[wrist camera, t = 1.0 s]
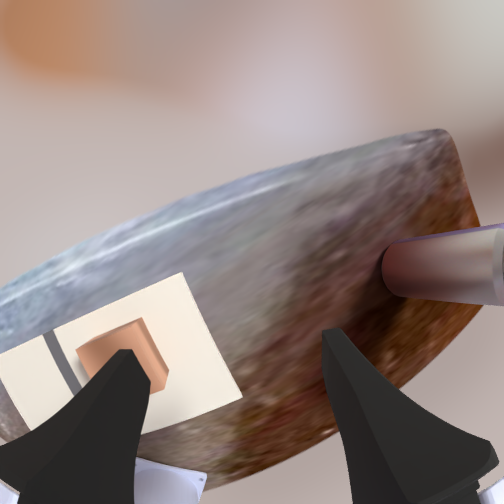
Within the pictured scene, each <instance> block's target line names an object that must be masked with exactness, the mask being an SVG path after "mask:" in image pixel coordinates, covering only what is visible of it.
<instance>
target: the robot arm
mask: <svg viewBox="0 0 504 504" xmlns="http://www.w3.org/2000/svg"><path fill="white" fill-rule="evenodd" d="M322 372H323V377H324V382H325V387H326V391H327V394H328V397H329V400H330V404H331V407H332V410H333V413H334V416H335V419H336V422H337V425H338V428H339V431H340V434H341V438H342V441H343V445H344V450H345V454H346V461H347V465H348V472H349V479H350V485H351V493H352V501H353V504H504V477H502V478H501V479H500V480H498V481H497V482H495V483H494V484H493V485H492V486H490V487H488V488H486V489H484V490H482V491H481V492H479V493H477V491H476V490H477V489H479V487H480V485H479V483H478V479H480V478H481V477H483V476H484V475H486V474H487V473H488V472H490V471H491V470H492V469H494V468H495V467H496V466H497V465H498V464H499V460H498V457H497V455H496V452H495V450H494V448H493V446H492V445H491V443H490V441H488V440H485V439H482V438H479V437H477V436H474V435H472V434H469V433H467V432H465V431H463V430H461V429H459V428H456V427H454V426H452V425H450V424H449V423H447V422H445V421H443V420H442V419H440V418H438V417H437V416H435V415H433V414H432V413H430V412H428V411H427V410H425V409H424V408H422V407H421V406H420V405H418V404H417V403H415V402H414V401H413V400H411V399H410V398H409V397H407V396H406V395H405V394H403V393H402V392H401V391H400V390H399V389H398V388H396V387H395V386H394V385H393V384H392V383H391V382H390V381H389V380H387V379H386V378H385V377H384V376H383V375H382V374H381V373H380V372H379V371H378V370H377V369H376V368H375V367H374V366H373V365H372V364H371V363H370V362H369V361H368V360H367V359H366V358H365V356H364V355H363V354H362V353H361V352H360V351H359V350H358V349H357V347H356V346H355V345H354V344H353V343H352V342H351V340H350V339H349V338H348V337H347V336H346V334H345V333H344V332H343V330H342V329H340V328H333V329H328V330H322ZM150 387H151V381H150V379H149V378H148V376H147V374H146V373H145V371H144V369H143V368H142V366H141V364H140V362H139V361H138V359H137V357H136V355H135V354H134V352H133V350H132V349H119V350H118V351H117V352H116V353H115V354H114V355H113V356H112V357H111V358H110V359H109V360H108V361H107V362H106V363H105V364H104V365H103V366H102V368H101V369H100V370H99V371H98V372H97V373H96V374H95V375H94V376H93V377H92V378H91V380H90V381H89V382H88V383H87V384H86V385H85V386H84V387H83V388H82V389H81V390H80V391H79V392H78V393H77V394H76V395H75V396H74V397H73V398H72V399H71V400H70V401H69V402H68V403H67V404H66V405H65V406H64V407H62V408H61V409H60V410H59V411H58V412H57V413H55V414H54V415H53V416H52V417H50V418H49V419H48V420H46V421H45V422H43V423H42V424H41V425H39V426H38V427H36V428H35V429H33V430H32V431H30V432H28V433H27V434H25V435H23V436H21V437H19V438H18V439H15V440H13V441H11V442H9V443H6V444H4V445H2V446H0V479H1V480H3V481H4V482H5V483H7V484H8V485H10V486H11V487H13V488H14V489H16V490H17V491H19V492H20V495H19V494H17V493H15V492H14V491H12V490H11V489H9V488H8V487H6V486H5V485H3V484H2V483H0V504H198V503H199V500H200V497H201V494H202V491H203V488H204V485H205V482H206V479H207V474H206V473H204V472H199V471H193V470H188V469H182V468H178V467H173V466H169V465H164V464H160V463H156V462H152V461H149V460H145V459H142V458H138V457H136V454H137V448H138V444H139V440H140V436H141V432H142V428H143V424H144V420H145V416H146V412H147V408H148V403H149V396H150ZM200 478H202V479H200Z"/></svg>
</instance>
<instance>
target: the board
mask: <svg viewBox="0 0 504 504" xmlns="http://www.w3.org/2000/svg"><path fill="white" fill-rule="evenodd" d="M140 317H142V318H143V320H144V322H145V324H146V326H147V329H148V331H149V333H150V335H151V337H152V339H153V341H154V343H155V345H156V346H157V348H158V350H159V352H160V354H161V356H162V358H163V360H164V362H165V363H166V365H167V367H168V369H169V373H168V377H167V381H166V385H165V389H164V390H162V391H159V392H156V393H153V394H151V395H150V396H149V403H148V408H147V412H146V416H145V420H144V424H143V428H142V432H141V434H144V433H148V432H151V431H154V430H158V429H161V428H164V427H167V426H170V425H173V424H176V423H179V422H182V421H185V420H187V419H190V418H193V417H195V416H198V415H201V414H203V413H206V412H209V411H211V410H214V409H216V408H219V407H221V406H223V405H226V404H228V403H230V402H233V401H235V400H237V399H240V398H242V394H241V392H240V390H239V388H238V386H237V384H236V383H235V381H234V379H233V377H232V375H231V373H230V371H229V369H228V367H227V366H226V364H225V362H224V360H223V358H222V356H221V354H220V352H219V350H218V348H217V346H216V344H215V342H214V340H213V338H212V336H211V334H210V332H209V330H208V328H207V326H206V324H205V322H204V320H203V317H202V315H201V313H200V311H199V309H198V307H197V305H196V302H195V300H194V298H193V296H192V294H191V292H190V289H189V287H188V285H187V283H186V280H185V278H184V276H183V274H182V272H180V273H178V274H176V275H173V276H171V277H169V278H167V279H164V280H162V281H160V282H158V283H155V284H153V285H151V286H149V287H146V288H144V289H142V290H140V291H137V292H135V293H133V294H131V295H128V296H126V297H124V298H122V299H120V300H117V301H115V302H113V303H111V304H108V305H106V306H104V307H102V308H100V309H97V310H95V311H93V312H91V313H89V314H86V315H84V316H82V317H80V318H78V319H75V320H73V321H71V322H69V323H67V324H64V325H62V326H60V327H58V328H56V329H54V330H51V331H49V332H47V333H45V334H43V335H41V336H38V337H36V338H34V339H32V340H30V341H28V342H26V343H23V344H21V345H19V346H17V347H15V348H13V349H11V350H8V351H6V352H4V353H2V354H0V378H1V380H2V382H3V384H4V386H5V388H6V390H7V392H8V393H9V395H10V397H11V399H12V401H13V402H14V404H15V406H16V408H17V409H18V411H19V413H20V414H21V416H22V417H23V419H24V421H25V422H26V424H27V425H28V427H29V428H30V430H31V431H32V430H33V429H35V428H36V427H38V426H39V425H41V424H42V423H43V422H45V421H46V420H48V419H49V418H50V417H52V416H53V415H54V414H55V413H57V412H58V411H59V410H60V409H61V408H62V407H64V406H65V405H66V404H67V403H68V402H69V401H70V400H71V399H72V398H73V397H74V396H75V395H76V394H77V393H78V392H79V391H80V390H81V389H82V388H83V387H84V386H85V385H86V384H87V383H88V382H89V381H90V380H91V379H90V377H89V375H88V374H87V372H86V370H85V368H84V366H83V364H82V362H81V360H80V358H79V356H78V355H77V353H76V350H75V349H77V348H78V347H80V346H81V345H83V344H84V343H86V342H87V341H89V340H90V339H92V338H94V337H96V336H98V335H101V334H103V333H105V332H108V331H110V330H112V329H115V328H117V327H119V326H122V325H124V324H126V323H129V322H131V321H133V320H136V319H138V318H140Z"/></svg>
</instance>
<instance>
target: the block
mask: <svg viewBox="0 0 504 504" xmlns="http://www.w3.org/2000/svg"><path fill="white" fill-rule="evenodd" d="M119 349H132V350H133V352H134V354H135V355H136V357H137V359H138V361H139V362H140V364H141V366H142V368H143V369H144V371H145V373H146V374H147V376H148V378H149V379H150V381H151V387H150V395H151V394H153V393H156V392H159V391H162V390H164V389H165V385H166V381H167V377H168V373H169V369H168V367H167V365H166V363H165V362H164V360H163V358H162V356H161V354H160V352H159V350H158V348H157V346H156V345H155V343H154V341H153V339H152V337H151V335H150V333H149V331H148V329H147V326H146V324H145V322H144V320H143V318H142V317H140V318H138V319H136V320H133V321H131V322H129V323H126V324H124V325H122V326H119V327H117V328H115V329H112V330H110V331H108V332H105V333H103V334H101V335H98V336H96V337H94V338H92V339H90V340H89V341H87V342H86V343H84V344H83V345H81V346H80V347H78V348H77V349H75V350H76V353H77V355H78V356H79V358H80V360H81V362H82V364H83V366H84V368H85V370H86V372H87V374H88V375H89V377H90V379H91V378H92V377H93V376H94V375H95V374H96V373H97V372H98V371H99V370H100V369H101V368H102V366H103V365H104V364H105V363H106V362H107V361H108V360H109V359H110V358H111V357H112V356H113V355H114V354H115V353H116V352H117V351H118V350H119Z"/></svg>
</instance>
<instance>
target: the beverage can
mask: <svg viewBox="0 0 504 504" xmlns="http://www.w3.org/2000/svg"><path fill="white" fill-rule="evenodd" d="M381 269H382V277H383V280H384V282H385V284H386V286H387V288H388V289H389V290H390V291H391V292H392V293H393V294H395V295H397V296H401V297H410V298H419V299H429V300H439V301H449V302H460V303H471V304H483V305H496V306H504V223H501V224H494V225H488V226H482V227H476V228H470V229H464V230H458V231H452V232H446V233H439V234H433V235H427V236H421V237H414V238H408V239H402V240H397V241H395V242H393V243H392V244H391V245H390V246H389V248H388V249H387V251H386V252H385V254H384V257H383V260H382V267H381Z"/></svg>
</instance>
